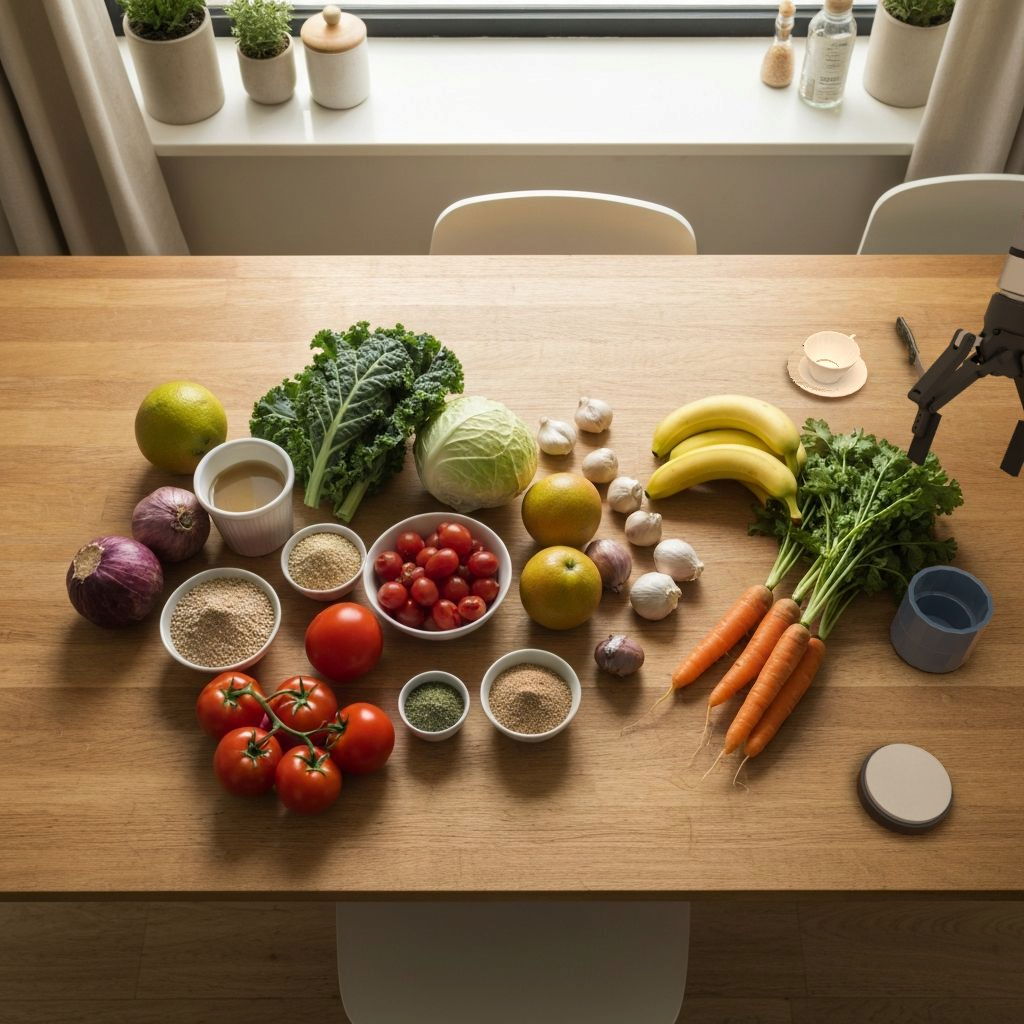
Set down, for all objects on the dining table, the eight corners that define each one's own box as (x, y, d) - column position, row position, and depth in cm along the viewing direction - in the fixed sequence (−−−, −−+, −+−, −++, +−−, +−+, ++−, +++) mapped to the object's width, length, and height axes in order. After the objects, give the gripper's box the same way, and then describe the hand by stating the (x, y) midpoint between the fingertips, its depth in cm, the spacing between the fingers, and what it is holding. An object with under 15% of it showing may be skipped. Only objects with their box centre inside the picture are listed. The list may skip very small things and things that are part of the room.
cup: (979, 630, 135) (1003, 587, 128) (954, 688, 130) (978, 646, 123) (904, 597, 138) (924, 553, 131) (877, 652, 133) (897, 610, 126)
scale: (959, 779, 123) (967, 767, 120) (930, 852, 118) (938, 841, 115) (875, 737, 126) (881, 725, 124) (843, 806, 121) (848, 795, 119)
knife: (935, 417, 158) (941, 403, 156) (926, 417, 158) (931, 403, 156) (901, 324, 171) (906, 309, 168) (893, 324, 171) (897, 310, 168)
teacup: (878, 368, 165) (887, 342, 161) (843, 414, 159) (851, 389, 155) (807, 337, 169) (814, 311, 165) (770, 381, 164) (776, 356, 159)
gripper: (1093, 305, 131) (1027, 465, 139) (917, 274, 124) (858, 445, 132) (1138, 321, 124) (1065, 489, 132) (954, 290, 117) (890, 468, 126)
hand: (962, 467), depth 132 cm, fingers open, 13 cm apart
